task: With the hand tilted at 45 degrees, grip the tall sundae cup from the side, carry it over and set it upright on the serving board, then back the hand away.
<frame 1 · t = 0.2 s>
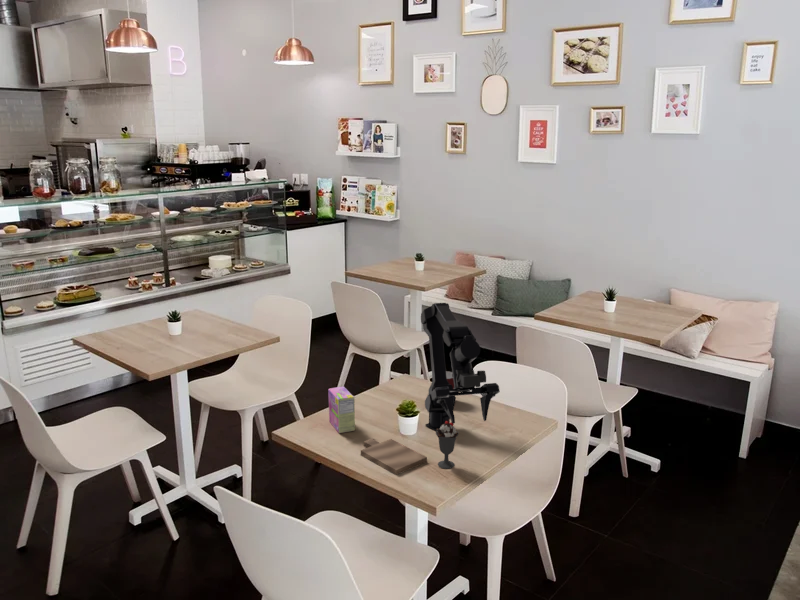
hand: (469, 422, 186), 15 cm above the table, tool tilted 35°, fingers open, 9 cm apart
board: (393, 458, 197), on the table
mug: (442, 402, 239), on the table
sundae: (446, 465, 193), on the table
box: (341, 426, 218), on the table
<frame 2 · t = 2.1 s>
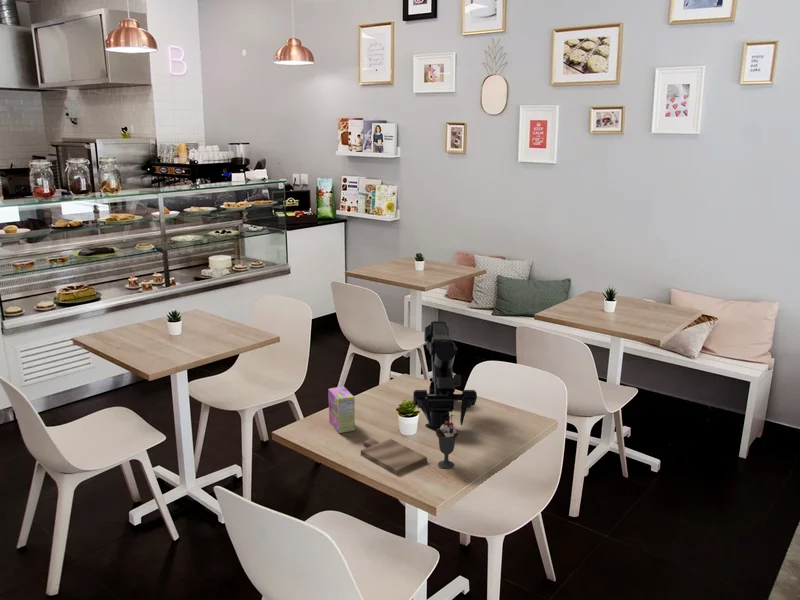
hand: (446, 424, 194), 11 cm above the table, tool tilted 45°, fingers open, 9 cm apart
nothing on the table moved.
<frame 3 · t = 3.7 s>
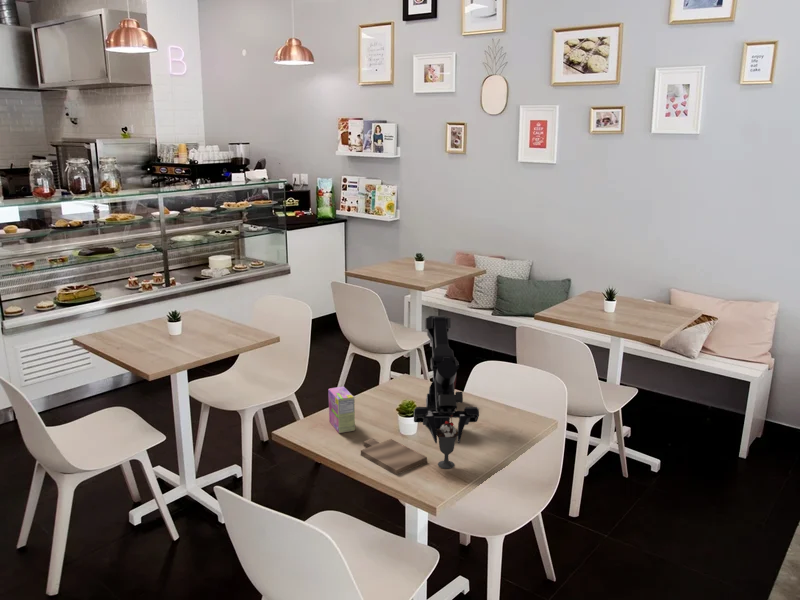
hand: (447, 442, 190), 8 cm above the table, tool tilted 45°, fingers closed on sundae, 6 cm apart
sundae: (446, 465, 193), on the table, touching gripper
everything else where it was.
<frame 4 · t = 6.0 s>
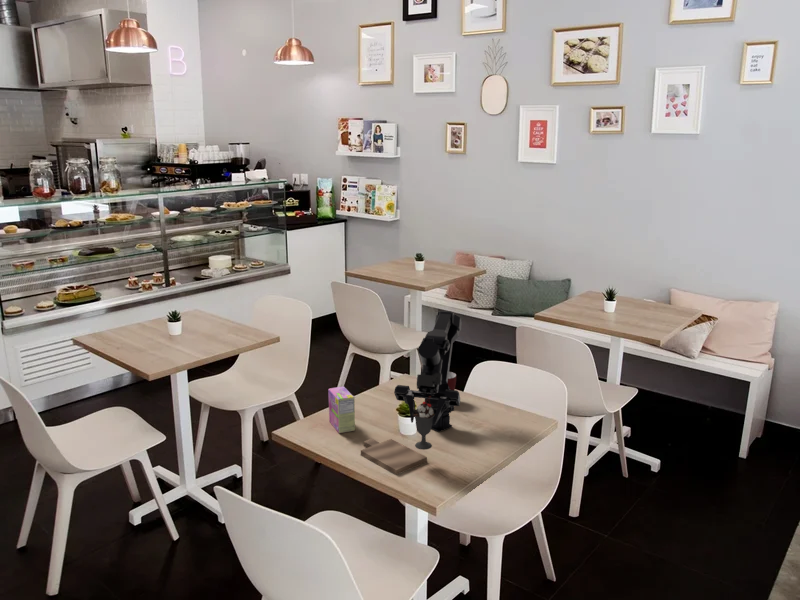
hand: (423, 423, 189), 13 cm above the table, tool tilted 45°, fingers closed on sundae, 6 cm apart
sundae: (423, 446, 192), point 5 cm above the table, touching gripper
everything else where it was.
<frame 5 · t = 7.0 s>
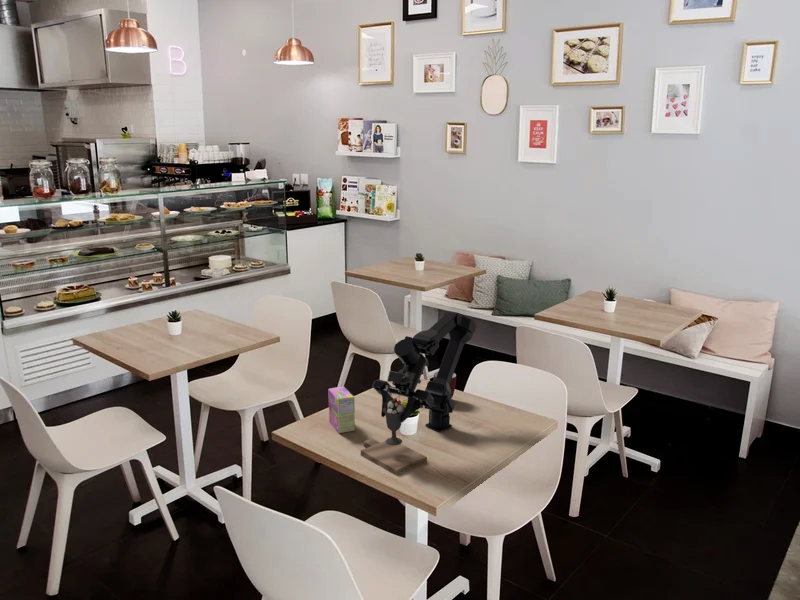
hand: (391, 419, 192), 13 cm above the table, tool tilted 45°, fingers closed on sundae, 6 cm apart
sundae: (394, 442, 195), point 5 cm above the table, touching gripper
everything else where it was.
when the fingers open (10 cm above the table, at t = 8.1 s): sundae stays where it is, resting on board.
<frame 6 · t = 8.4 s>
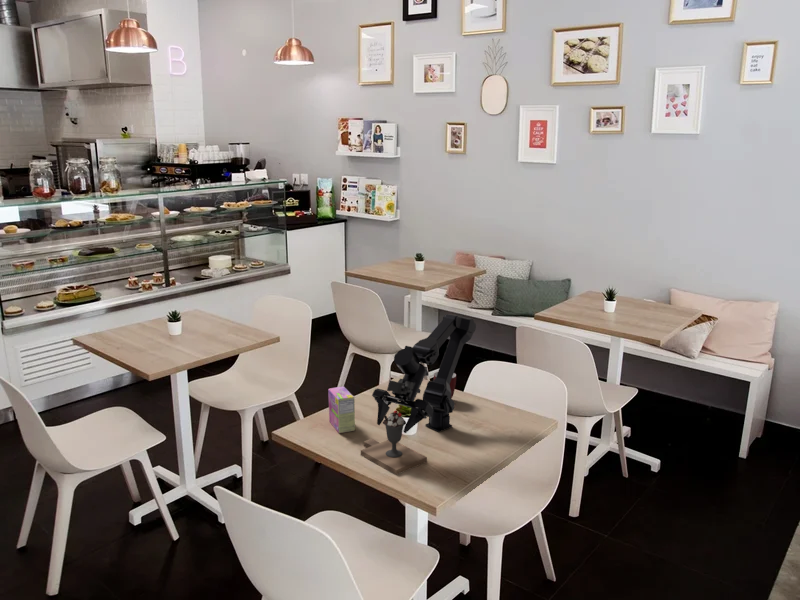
hand: (391, 428, 193), 10 cm above the table, tool tilted 45°, fingers open, 9 cm apart
sundae: (394, 454, 196), point 1 cm above the table, touching board
everything else where it was.
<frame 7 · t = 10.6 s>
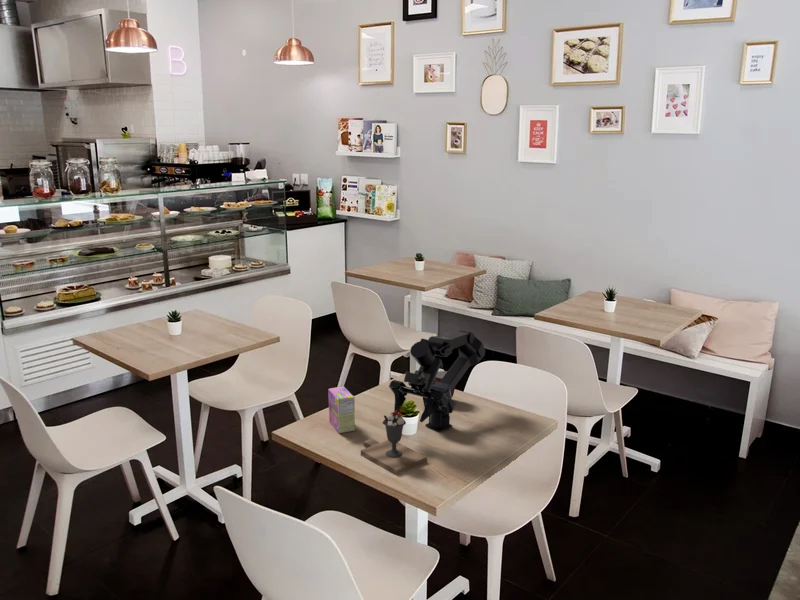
hand: (407, 418, 200), 10 cm above the table, tool tilted 45°, fingers open, 9 cm apart
nothing on the table moved.
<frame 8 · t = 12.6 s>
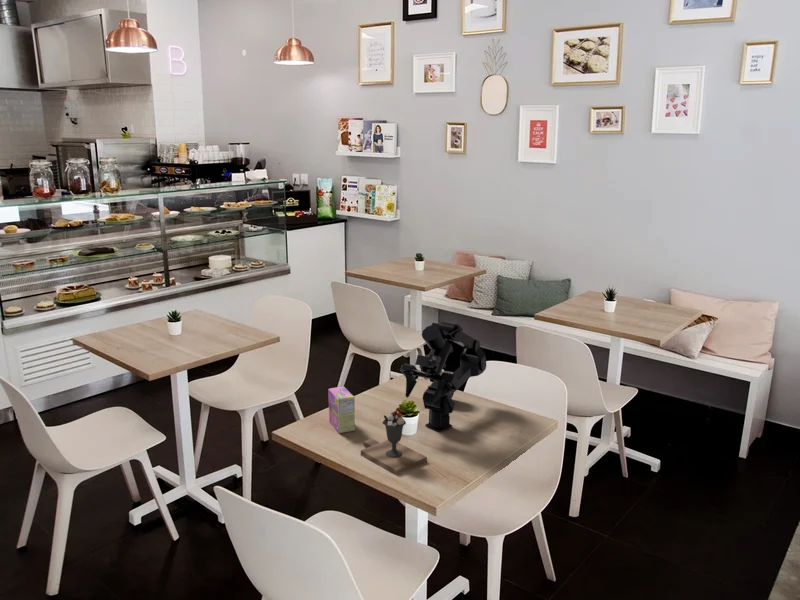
hand: (419, 400, 205), 14 cm above the table, tool tilted 45°, fingers open, 9 cm apart
nothing on the table moved.
at the end: sundae inside the target area on the board (0.2 cm from its centre), point 1.3 cm above the board's base; sundae tilted 0°; the gripper is holding nothing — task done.
